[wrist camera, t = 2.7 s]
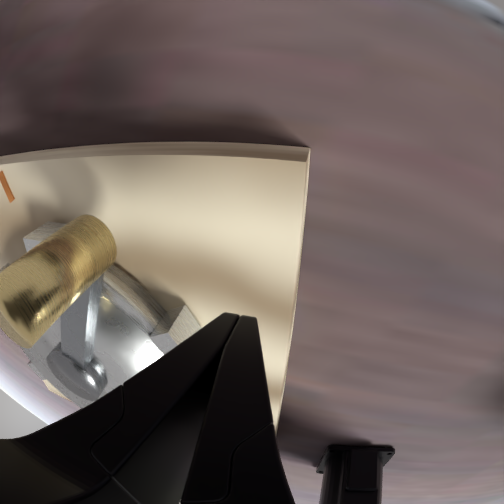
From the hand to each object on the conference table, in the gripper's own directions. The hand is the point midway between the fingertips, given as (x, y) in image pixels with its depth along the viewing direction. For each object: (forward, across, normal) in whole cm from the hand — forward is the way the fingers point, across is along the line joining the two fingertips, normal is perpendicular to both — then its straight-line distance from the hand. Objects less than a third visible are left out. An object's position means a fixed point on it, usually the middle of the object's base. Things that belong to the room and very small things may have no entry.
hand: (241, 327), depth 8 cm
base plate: (+8, +11, +9) cm, 16 cm away
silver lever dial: (+5, +11, +9) cm, 15 cm away
